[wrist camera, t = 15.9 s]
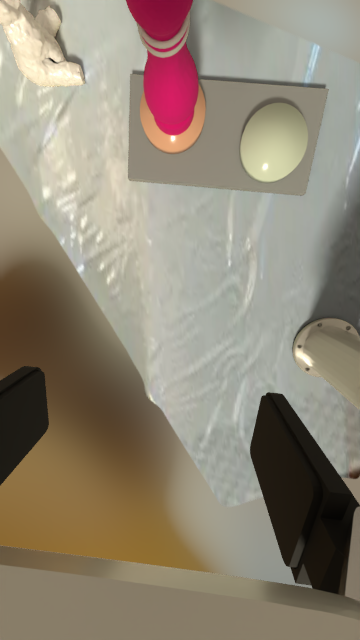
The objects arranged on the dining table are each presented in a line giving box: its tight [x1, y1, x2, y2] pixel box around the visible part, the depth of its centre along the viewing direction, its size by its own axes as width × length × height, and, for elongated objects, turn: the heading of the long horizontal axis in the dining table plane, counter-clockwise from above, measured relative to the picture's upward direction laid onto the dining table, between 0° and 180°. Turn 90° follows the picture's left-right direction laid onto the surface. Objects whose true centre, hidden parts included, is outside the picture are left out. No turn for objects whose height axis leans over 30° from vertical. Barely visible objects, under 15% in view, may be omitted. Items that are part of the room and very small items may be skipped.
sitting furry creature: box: [0, 0, 85, 87], centre depth 28 cm, size 10×9×12 cm
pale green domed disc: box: [239, 103, 308, 183], centre depth 33 cm, size 10×10×2 cm
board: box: [128, 74, 329, 196], centre depth 35 cm, size 30×14×1 cm, turn 85°
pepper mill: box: [126, 0, 199, 136], centre depth 23 cm, size 7×7×20 cm
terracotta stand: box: [140, 83, 206, 154], centre depth 33 cm, size 10×10×2 cm
